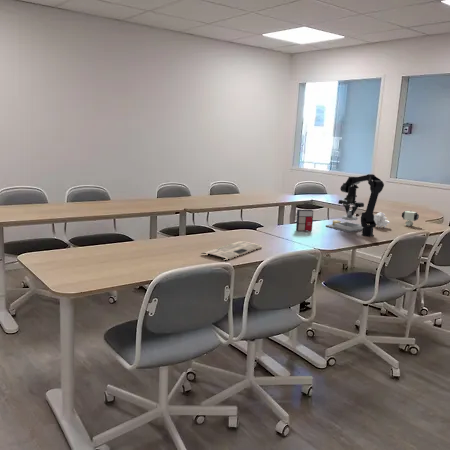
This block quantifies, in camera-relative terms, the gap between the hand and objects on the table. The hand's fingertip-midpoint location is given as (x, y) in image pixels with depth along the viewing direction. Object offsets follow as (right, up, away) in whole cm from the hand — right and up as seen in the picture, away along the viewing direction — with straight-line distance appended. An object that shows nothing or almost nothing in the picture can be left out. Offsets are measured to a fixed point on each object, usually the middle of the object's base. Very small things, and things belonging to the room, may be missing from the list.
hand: (349, 214), depth 342 cm
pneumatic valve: (+53, -8, +24) cm, 59 cm away
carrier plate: (-3, -10, +5) cm, 11 cm away
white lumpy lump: (+27, -10, +12) cm, 31 cm away
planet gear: (0, -3, +1) cm, 3 cm away
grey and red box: (-35, -12, -9) cm, 38 cm away
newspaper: (-88, -24, -72) cm, 116 cm away
